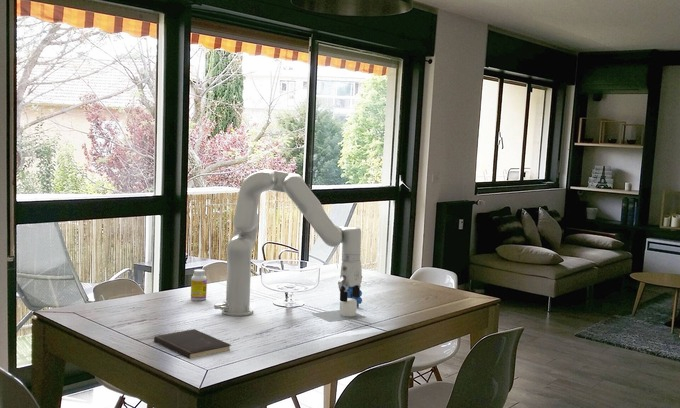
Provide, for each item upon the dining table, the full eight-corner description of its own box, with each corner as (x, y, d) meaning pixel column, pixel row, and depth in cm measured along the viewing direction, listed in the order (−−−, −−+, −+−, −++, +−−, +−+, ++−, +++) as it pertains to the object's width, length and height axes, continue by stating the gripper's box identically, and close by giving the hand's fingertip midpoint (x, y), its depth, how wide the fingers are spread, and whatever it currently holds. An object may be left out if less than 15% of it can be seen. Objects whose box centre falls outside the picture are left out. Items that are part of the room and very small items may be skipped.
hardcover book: (194, 335, 245) (194, 328, 244) (230, 351, 228) (231, 344, 228) (153, 342, 234) (153, 336, 233) (189, 360, 217) (189, 353, 217)
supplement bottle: (204, 301, 293) (205, 272, 292) (189, 300, 293) (189, 271, 292) (207, 297, 299) (208, 269, 298) (192, 297, 300) (193, 268, 298)
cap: (354, 316, 273) (355, 302, 273) (338, 315, 275) (339, 300, 274) (357, 313, 280) (357, 298, 279) (341, 311, 281) (342, 297, 280)
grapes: (334, 306, 296) (335, 279, 295) (344, 303, 301) (346, 277, 300) (354, 311, 288) (355, 283, 287) (364, 309, 293) (366, 281, 292)
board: (329, 325, 264) (329, 310, 263) (310, 317, 276) (311, 302, 275) (366, 320, 274) (367, 306, 273) (347, 312, 286) (347, 298, 285)
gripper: (348, 261, 266) (346, 304, 267) (369, 255, 280) (368, 296, 282) (331, 259, 270) (330, 301, 271) (354, 253, 284) (352, 294, 286)
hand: (349, 299), depth 277 cm, fingers open, 9 cm apart
